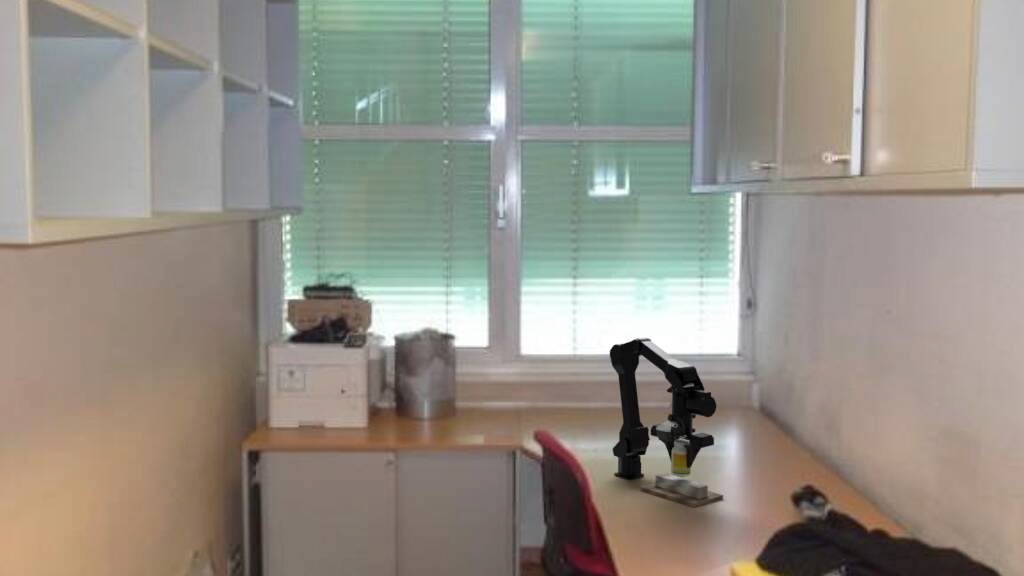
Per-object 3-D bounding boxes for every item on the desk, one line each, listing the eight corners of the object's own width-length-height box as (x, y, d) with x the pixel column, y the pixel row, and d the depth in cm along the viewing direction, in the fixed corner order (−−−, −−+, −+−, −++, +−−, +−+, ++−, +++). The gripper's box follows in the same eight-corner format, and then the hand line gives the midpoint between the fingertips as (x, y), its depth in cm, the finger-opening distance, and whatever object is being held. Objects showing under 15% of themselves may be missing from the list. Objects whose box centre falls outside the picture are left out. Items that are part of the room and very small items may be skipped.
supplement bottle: (668, 472, 281) (668, 438, 280) (685, 471, 282) (686, 437, 281) (675, 477, 276) (676, 443, 275) (693, 476, 277) (694, 442, 276)
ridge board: (639, 490, 283) (639, 476, 283) (668, 482, 291) (668, 468, 290) (694, 507, 268) (694, 492, 267) (723, 498, 275) (723, 484, 275)
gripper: (637, 408, 279) (636, 463, 281) (688, 420, 265) (687, 478, 266) (664, 403, 286) (663, 456, 288) (716, 414, 272) (714, 471, 273)
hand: (681, 465), depth 279 cm, fingers closed on supplement bottle, 5 cm apart
